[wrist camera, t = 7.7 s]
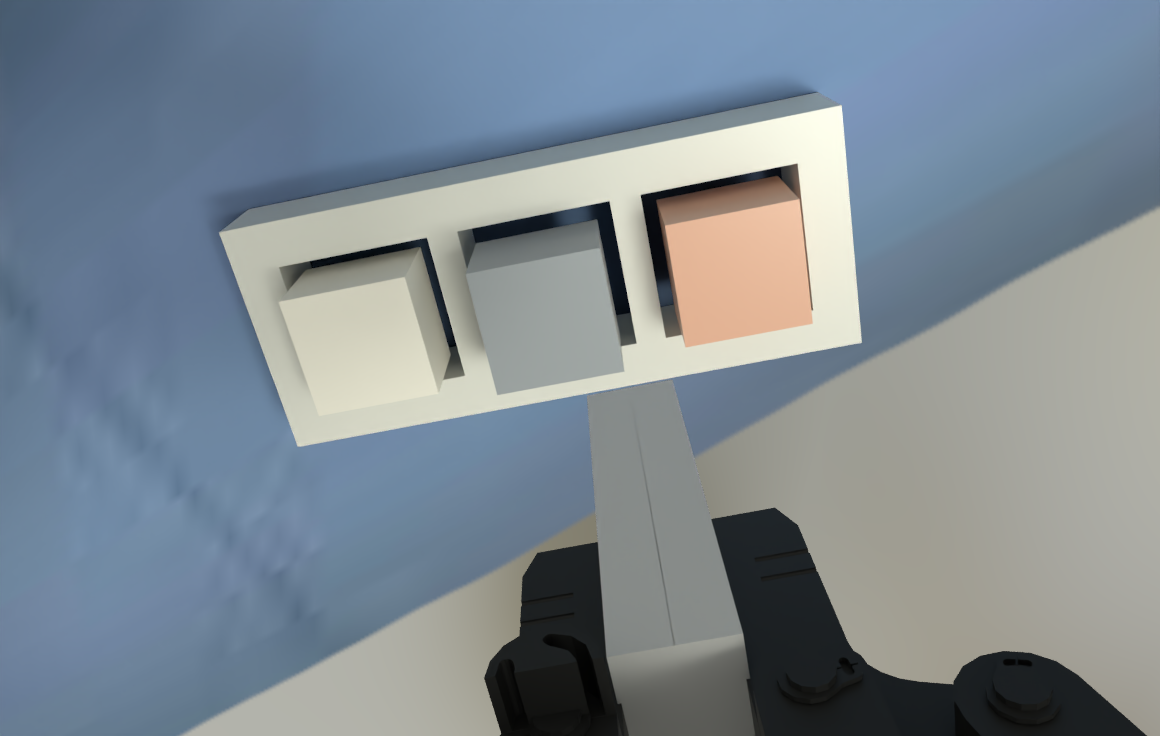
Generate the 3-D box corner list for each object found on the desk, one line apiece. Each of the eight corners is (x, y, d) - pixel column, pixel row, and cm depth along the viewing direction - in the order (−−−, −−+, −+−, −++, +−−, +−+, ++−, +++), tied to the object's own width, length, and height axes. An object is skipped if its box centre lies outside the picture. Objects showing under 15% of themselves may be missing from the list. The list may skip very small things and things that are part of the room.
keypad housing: (318, 409, 36) (298, 446, 33) (248, 209, 33) (218, 232, 30) (838, 311, 34) (861, 342, 32) (817, 92, 31) (841, 105, 28)
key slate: (504, 354, 32) (497, 395, 29) (475, 243, 30) (465, 274, 27) (619, 333, 31) (624, 371, 28) (597, 219, 30) (599, 247, 27)
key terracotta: (675, 311, 32) (685, 347, 29) (656, 199, 30) (664, 225, 28) (790, 290, 32) (812, 323, 29) (777, 175, 30) (799, 199, 27)
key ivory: (341, 375, 33) (318, 416, 30) (305, 269, 31) (278, 302, 28) (450, 354, 33) (438, 393, 30) (420, 246, 31) (404, 276, 28)
